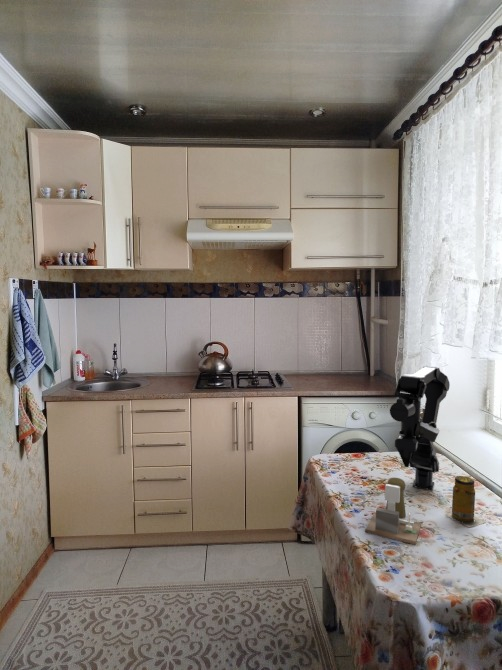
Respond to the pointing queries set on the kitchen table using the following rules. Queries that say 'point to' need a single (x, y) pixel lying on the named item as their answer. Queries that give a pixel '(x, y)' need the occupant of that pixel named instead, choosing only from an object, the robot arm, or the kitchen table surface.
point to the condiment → (464, 502)
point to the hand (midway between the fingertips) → (409, 462)
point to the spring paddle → (394, 499)
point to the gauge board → (393, 536)
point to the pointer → (409, 525)
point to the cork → (401, 505)
